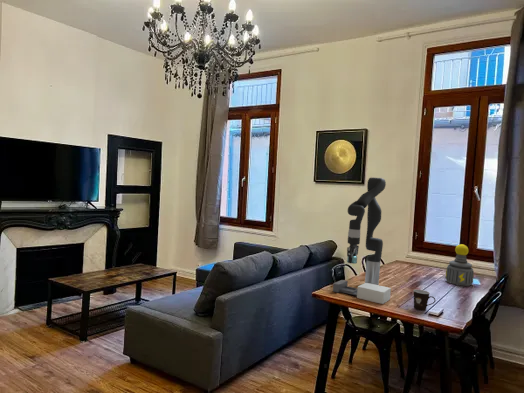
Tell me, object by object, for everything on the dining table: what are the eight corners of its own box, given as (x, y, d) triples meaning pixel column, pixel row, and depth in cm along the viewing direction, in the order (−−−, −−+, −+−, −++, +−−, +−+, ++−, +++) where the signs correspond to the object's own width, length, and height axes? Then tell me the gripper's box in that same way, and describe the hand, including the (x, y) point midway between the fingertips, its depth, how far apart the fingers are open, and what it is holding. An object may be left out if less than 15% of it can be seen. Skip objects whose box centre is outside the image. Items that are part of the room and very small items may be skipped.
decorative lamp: (447, 284, 287) (451, 244, 286) (443, 278, 305) (446, 241, 304) (475, 287, 281) (479, 247, 280) (469, 281, 299) (473, 244, 298)
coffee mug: (408, 306, 223) (410, 289, 222) (420, 305, 226) (421, 289, 225) (423, 313, 212) (425, 295, 212) (435, 312, 215) (437, 295, 215)
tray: (341, 287, 254) (342, 279, 253) (368, 293, 243) (369, 285, 243) (332, 291, 242) (333, 283, 242) (360, 298, 232) (361, 289, 231)
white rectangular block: (364, 293, 244) (365, 282, 244) (389, 299, 235) (390, 288, 235) (356, 297, 233) (357, 286, 233) (382, 304, 224) (383, 292, 224)
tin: (349, 261, 247) (349, 254, 246) (358, 262, 243) (358, 256, 243) (345, 262, 242) (346, 256, 241) (354, 264, 238) (355, 257, 238)
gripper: (352, 234, 250) (350, 260, 250) (344, 236, 238) (341, 263, 239) (363, 236, 246) (361, 262, 246) (355, 238, 234) (353, 265, 234)
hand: (351, 262), depth 242 cm, fingers closed on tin, 6 cm apart
